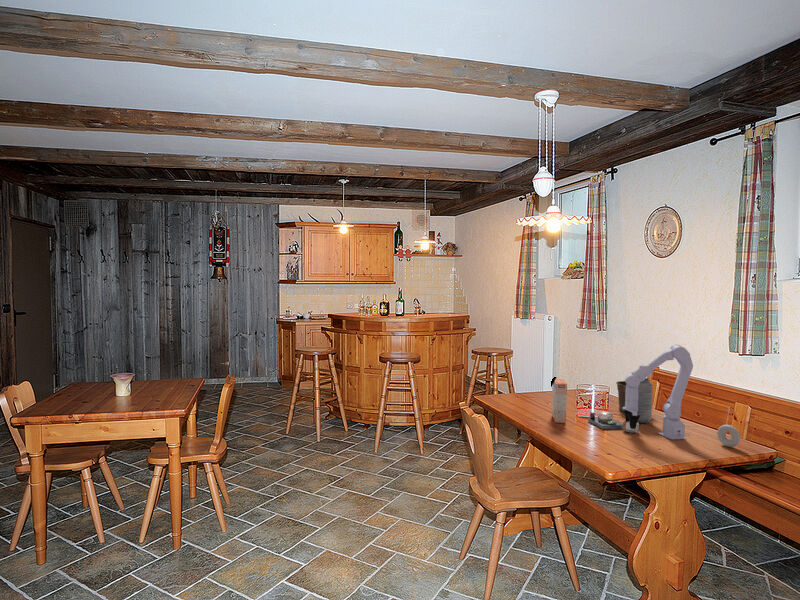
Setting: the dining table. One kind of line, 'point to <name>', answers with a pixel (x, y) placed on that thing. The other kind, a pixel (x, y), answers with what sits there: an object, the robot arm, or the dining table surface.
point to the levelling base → (604, 425)
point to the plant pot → (621, 394)
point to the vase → (645, 401)
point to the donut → (723, 439)
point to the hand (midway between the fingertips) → (630, 426)
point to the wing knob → (627, 427)
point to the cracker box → (559, 401)
